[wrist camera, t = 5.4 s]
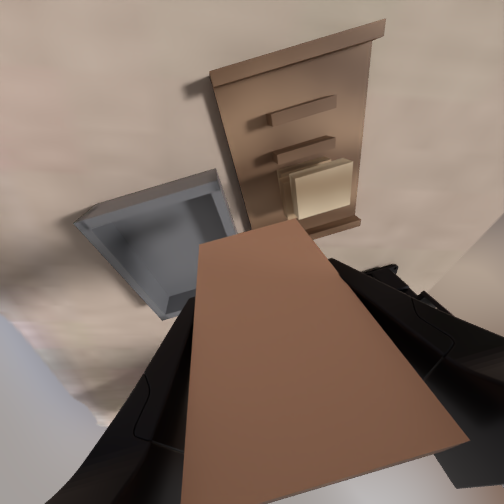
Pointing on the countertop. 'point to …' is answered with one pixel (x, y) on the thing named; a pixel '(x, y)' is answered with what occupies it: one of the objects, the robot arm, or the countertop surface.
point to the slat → (294, 377)
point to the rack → (297, 119)
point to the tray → (161, 236)
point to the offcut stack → (315, 186)
